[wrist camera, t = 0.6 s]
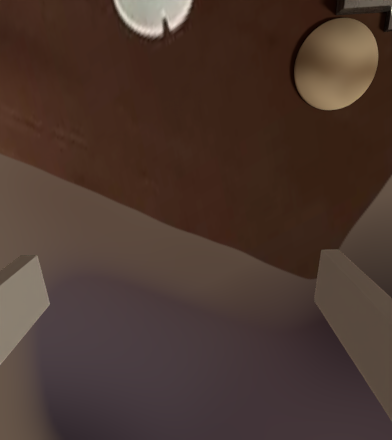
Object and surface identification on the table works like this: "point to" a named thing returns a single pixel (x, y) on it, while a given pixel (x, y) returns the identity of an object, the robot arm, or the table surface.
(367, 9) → the grey frame with tab
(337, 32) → the coaster
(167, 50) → the table surface
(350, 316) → the robot arm
